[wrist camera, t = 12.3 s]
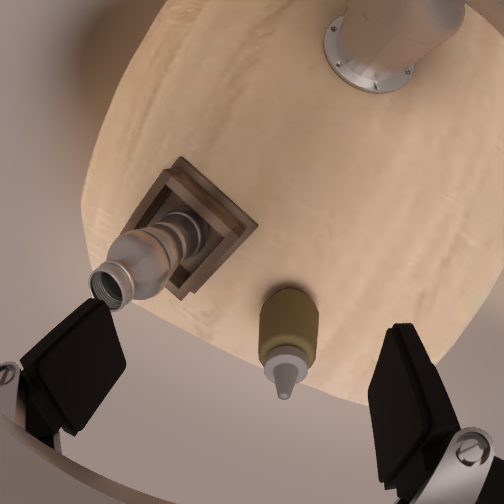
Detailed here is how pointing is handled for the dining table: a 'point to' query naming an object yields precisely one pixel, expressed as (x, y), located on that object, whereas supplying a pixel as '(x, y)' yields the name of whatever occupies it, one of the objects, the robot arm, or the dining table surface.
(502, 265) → the dining table surface
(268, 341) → the squeeze bottle
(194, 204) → the bottle caddy
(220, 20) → the dining table surface
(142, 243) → the plastic bottle
